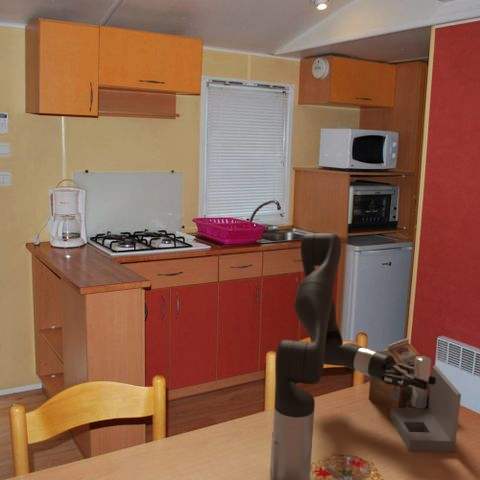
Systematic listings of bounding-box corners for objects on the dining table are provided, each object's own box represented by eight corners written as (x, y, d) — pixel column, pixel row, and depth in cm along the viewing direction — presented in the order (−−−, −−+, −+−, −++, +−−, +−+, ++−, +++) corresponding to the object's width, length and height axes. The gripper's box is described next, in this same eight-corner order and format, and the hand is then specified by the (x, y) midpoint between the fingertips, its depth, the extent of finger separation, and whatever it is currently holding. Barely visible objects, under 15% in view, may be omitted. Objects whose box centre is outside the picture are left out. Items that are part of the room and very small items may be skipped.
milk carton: (397, 411, 175) (403, 350, 172) (368, 398, 183) (373, 340, 179) (417, 402, 182) (423, 343, 178) (388, 389, 190) (393, 333, 186)
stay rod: (413, 408, 157) (418, 361, 155) (408, 400, 161) (413, 355, 159) (428, 408, 157) (433, 362, 155) (423, 401, 161) (428, 356, 159)
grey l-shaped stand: (408, 450, 154) (414, 393, 151) (389, 417, 172) (394, 365, 169) (454, 451, 154) (461, 394, 151) (431, 418, 172) (436, 366, 169)
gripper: (361, 357, 162) (419, 378, 150) (388, 345, 172) (444, 363, 160) (359, 383, 163) (416, 405, 152) (385, 369, 173) (441, 388, 162)
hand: (430, 383), depth 156 cm, fingers closed on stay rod, 4 cm apart
